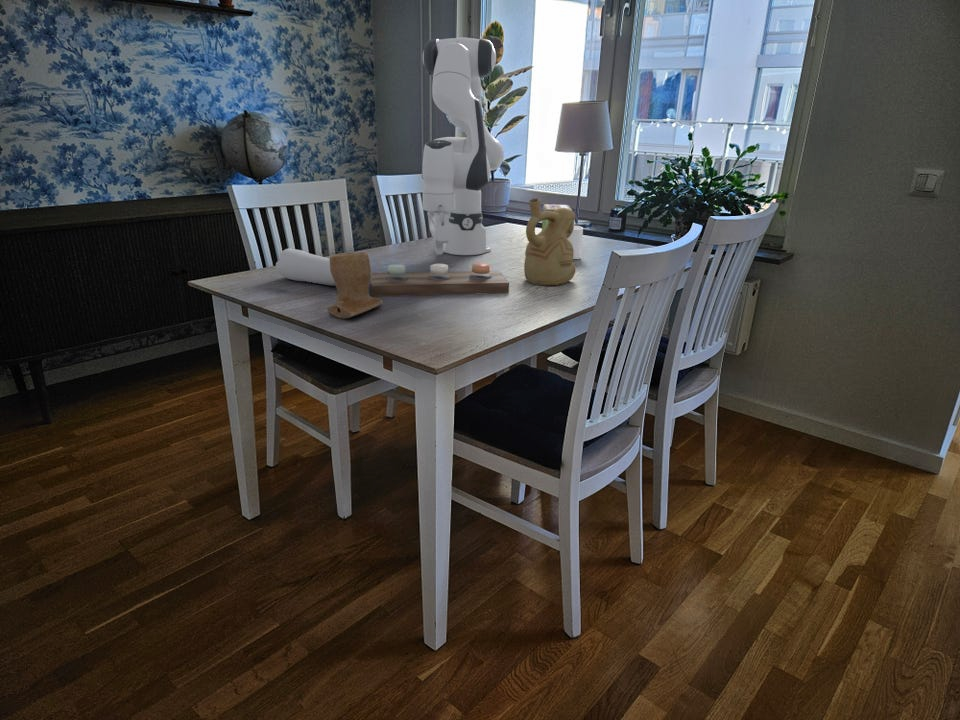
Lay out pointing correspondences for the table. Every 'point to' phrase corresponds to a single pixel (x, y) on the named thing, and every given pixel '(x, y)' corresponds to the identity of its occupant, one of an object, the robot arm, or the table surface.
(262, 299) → the table surface
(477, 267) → the button terracotta
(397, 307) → the table surface
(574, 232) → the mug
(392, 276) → the button panel
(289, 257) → the bottle
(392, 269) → the button sage
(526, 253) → the ceramic vessel
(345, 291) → the stone cup
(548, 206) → the tea box
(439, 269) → the button cream
